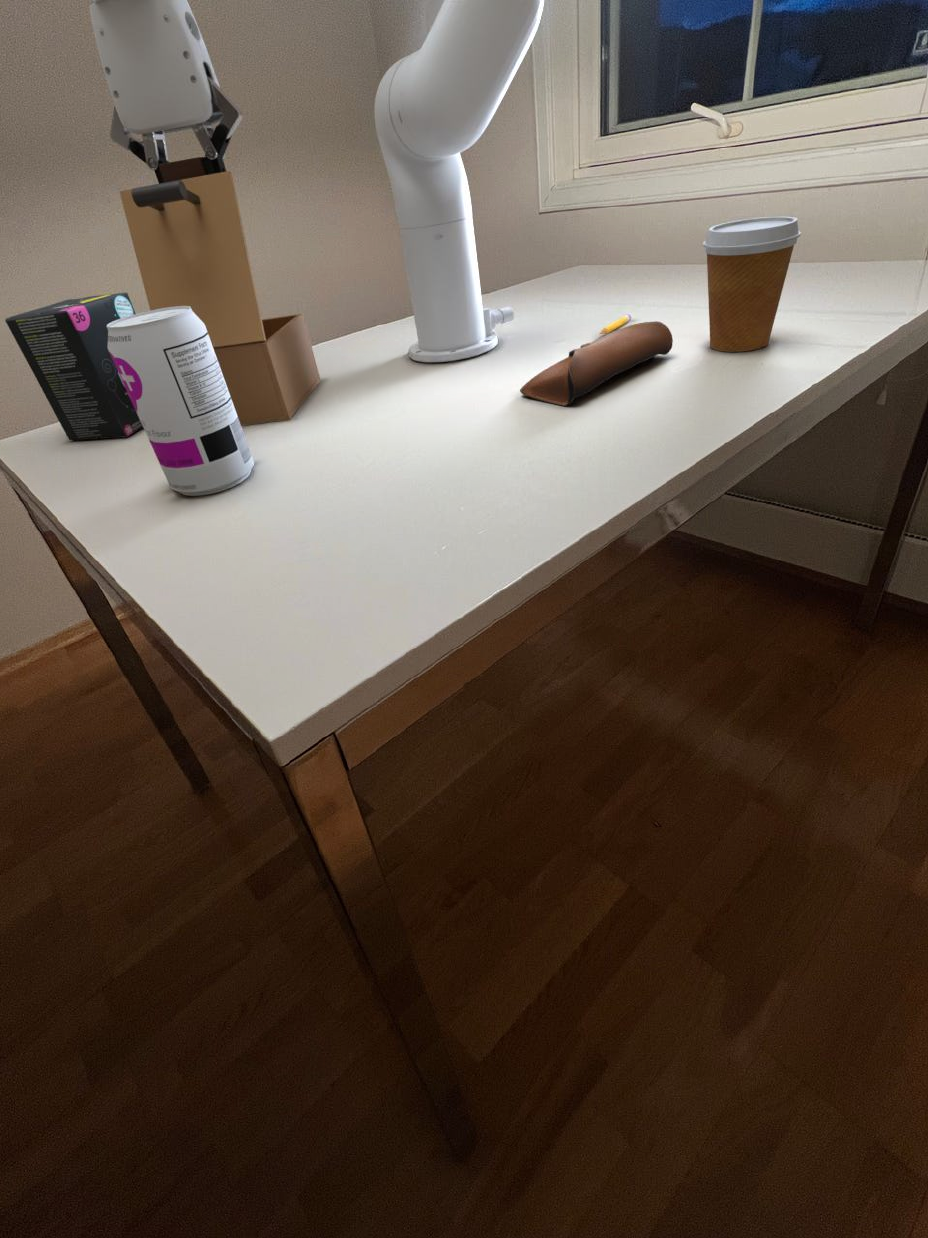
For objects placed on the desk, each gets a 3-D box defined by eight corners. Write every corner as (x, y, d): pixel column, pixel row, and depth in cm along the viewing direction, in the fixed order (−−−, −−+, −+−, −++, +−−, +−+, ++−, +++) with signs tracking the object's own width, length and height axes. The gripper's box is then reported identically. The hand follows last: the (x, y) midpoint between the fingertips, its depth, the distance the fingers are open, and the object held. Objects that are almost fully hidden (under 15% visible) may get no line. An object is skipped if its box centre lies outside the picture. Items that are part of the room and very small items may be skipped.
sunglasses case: (611, 346, 78) (636, 296, 72) (653, 381, 76) (682, 332, 71) (513, 392, 69) (533, 339, 64) (558, 433, 67) (582, 382, 62)
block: (192, 210, 72) (176, 163, 70) (229, 204, 72) (214, 156, 69) (175, 214, 69) (158, 164, 66) (214, 207, 68) (198, 156, 66)
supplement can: (175, 507, 58) (96, 334, 49) (171, 477, 64) (101, 320, 56) (262, 482, 60) (201, 311, 51) (250, 455, 66) (194, 300, 58)
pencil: (631, 319, 89) (631, 314, 88) (601, 337, 84) (601, 331, 83) (626, 319, 89) (626, 314, 89) (596, 336, 84) (596, 331, 84)
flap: (121, 192, 66) (91, 177, 61) (231, 172, 64) (208, 156, 60) (164, 354, 71) (138, 353, 67) (266, 340, 70) (247, 337, 65)
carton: (237, 391, 88) (214, 326, 83) (321, 380, 87) (302, 313, 82) (193, 431, 76) (163, 357, 71) (290, 419, 75) (266, 343, 69)
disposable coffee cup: (678, 346, 76) (684, 231, 69) (742, 328, 78) (754, 214, 71) (735, 361, 69) (749, 234, 61) (804, 341, 71) (825, 215, 64)
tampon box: (128, 438, 78) (67, 309, 69) (67, 442, 80) (0, 318, 71) (177, 407, 86) (128, 289, 78) (120, 412, 89) (67, 297, 80)
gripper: (227, -30, 61) (284, 193, 72) (70, 4, 64) (148, 216, 74) (196, -49, 55) (263, 198, 66) (24, -10, 58) (116, 223, 68)
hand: (201, 205), depth 70 cm, fingers closed on block, 4 cm apart
